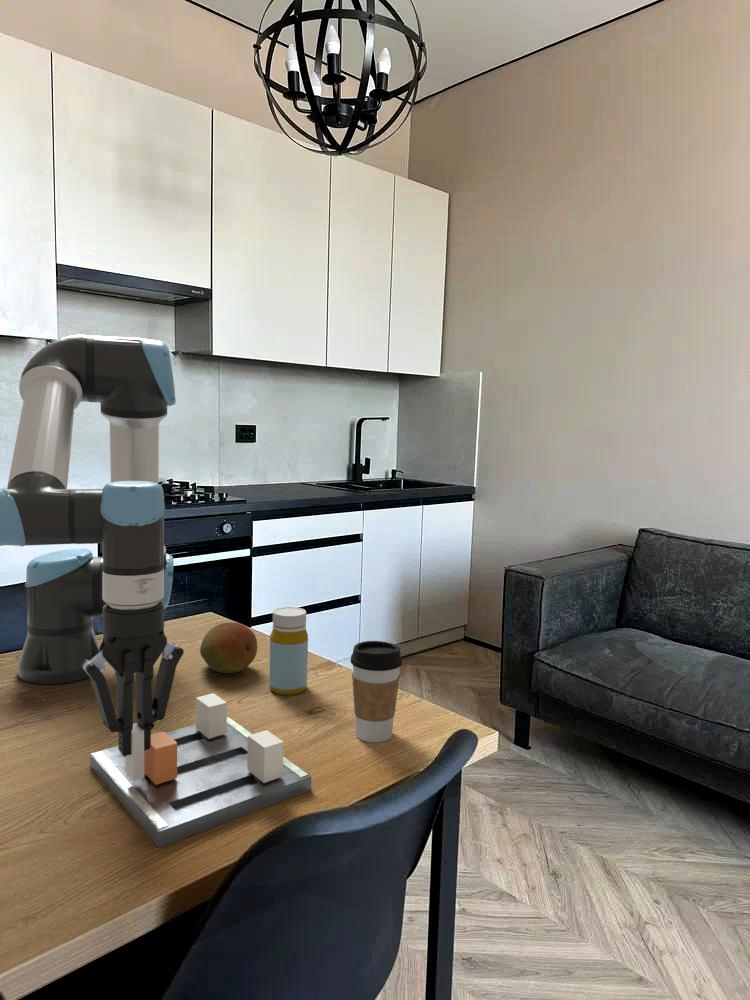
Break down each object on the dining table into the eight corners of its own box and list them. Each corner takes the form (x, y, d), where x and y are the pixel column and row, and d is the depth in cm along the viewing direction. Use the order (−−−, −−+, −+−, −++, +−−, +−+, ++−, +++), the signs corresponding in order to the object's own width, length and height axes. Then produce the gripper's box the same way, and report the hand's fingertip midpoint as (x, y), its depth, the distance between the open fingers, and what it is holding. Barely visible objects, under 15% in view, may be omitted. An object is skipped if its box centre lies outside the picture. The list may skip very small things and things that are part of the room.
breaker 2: (247, 776, 99) (247, 735, 98) (265, 769, 101) (266, 729, 100) (263, 789, 96) (264, 747, 95) (282, 782, 97) (283, 741, 97)
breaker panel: (90, 766, 103) (90, 752, 102) (227, 727, 117) (227, 715, 116) (158, 847, 84) (158, 831, 84) (311, 789, 99) (311, 775, 98)
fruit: (228, 687, 134) (228, 635, 132) (181, 672, 140) (181, 623, 139) (269, 669, 143) (269, 621, 142) (223, 656, 150) (223, 610, 149)
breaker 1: (195, 734, 111) (195, 697, 110) (213, 729, 113) (213, 693, 112) (208, 744, 108) (208, 707, 107) (226, 739, 110) (226, 702, 109)
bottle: (262, 692, 132) (263, 613, 130) (281, 679, 138) (282, 604, 136) (295, 698, 129) (297, 618, 127) (313, 685, 136) (315, 609, 134)
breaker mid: (142, 777, 97) (142, 736, 97) (163, 771, 99) (163, 730, 99) (155, 791, 94) (155, 749, 93) (177, 784, 96) (177, 742, 95)
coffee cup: (362, 750, 110) (365, 657, 109) (339, 728, 118) (342, 640, 116) (408, 740, 114) (412, 650, 112) (384, 719, 122) (387, 635, 120)
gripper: (91, 616, 84) (94, 803, 87) (193, 601, 93) (193, 772, 96) (72, 602, 90) (75, 777, 93) (169, 589, 98) (169, 750, 101)
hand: (134, 774), depth 94 cm, fingers closed
